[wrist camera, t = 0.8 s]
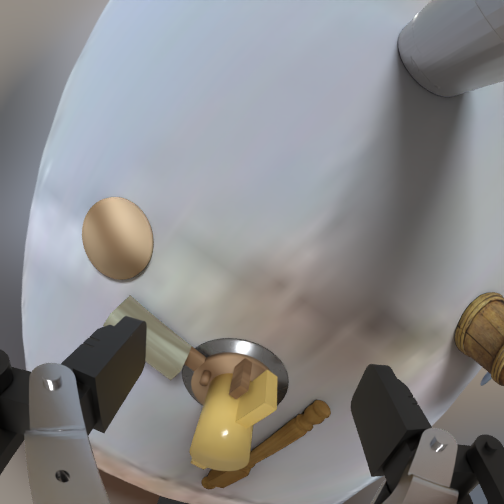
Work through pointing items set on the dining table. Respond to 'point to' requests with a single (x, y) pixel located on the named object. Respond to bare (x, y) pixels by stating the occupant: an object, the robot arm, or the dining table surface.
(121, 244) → the coaster
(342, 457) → the dining table surface
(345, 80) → the dining table surface
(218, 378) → the cylinder with side tabs
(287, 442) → the tap handle
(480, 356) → the wooden mug
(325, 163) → the dining table surface
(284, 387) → the stand base
